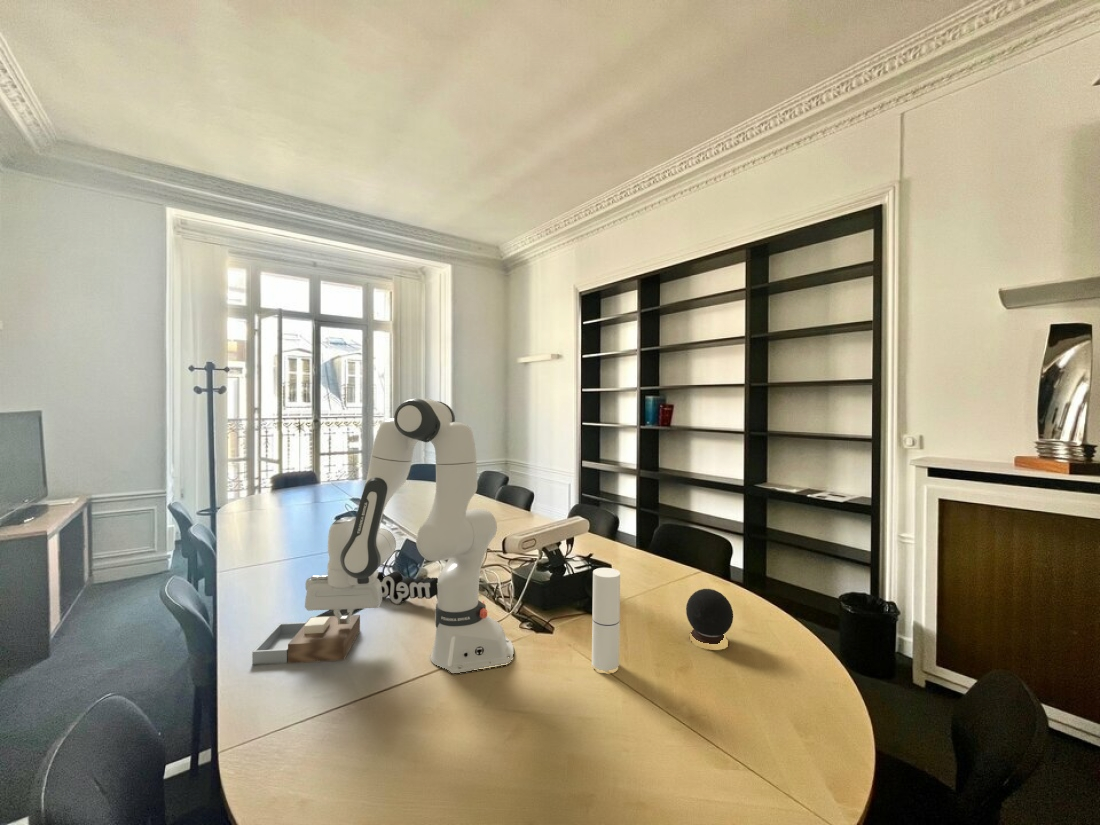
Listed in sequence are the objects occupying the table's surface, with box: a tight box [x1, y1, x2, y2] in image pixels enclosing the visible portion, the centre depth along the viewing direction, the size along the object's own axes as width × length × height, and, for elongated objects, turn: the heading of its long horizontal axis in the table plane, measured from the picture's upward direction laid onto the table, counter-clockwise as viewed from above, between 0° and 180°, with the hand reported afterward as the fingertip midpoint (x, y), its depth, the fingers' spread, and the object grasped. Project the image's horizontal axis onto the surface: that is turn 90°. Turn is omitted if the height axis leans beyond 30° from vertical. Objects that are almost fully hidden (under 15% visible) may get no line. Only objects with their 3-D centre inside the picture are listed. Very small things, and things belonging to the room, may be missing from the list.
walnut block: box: [287, 614, 361, 664], centre depth 131 cm, size 14×16×5 cm
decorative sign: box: [377, 570, 438, 606], centre depth 162 cm, size 32×4×10 cm, turn 69°
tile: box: [304, 616, 329, 634], centre depth 131 cm, size 5×5×2 cm
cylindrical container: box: [591, 567, 621, 671], centre depth 123 cm, size 7×7×25 cm
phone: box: [315, 608, 364, 617], centre depth 152 cm, size 8×1×15 cm
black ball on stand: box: [685, 588, 734, 644], centre depth 137 cm, size 13×13×15 cm
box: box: [251, 621, 307, 666], centre depth 130 cm, size 8×16×4 cm, turn 8°
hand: (344, 623), depth 132 cm, fingers closed
